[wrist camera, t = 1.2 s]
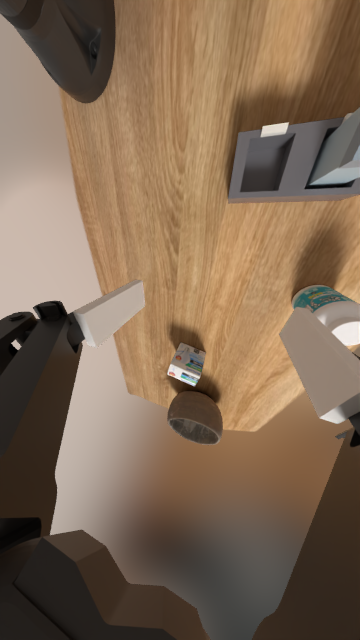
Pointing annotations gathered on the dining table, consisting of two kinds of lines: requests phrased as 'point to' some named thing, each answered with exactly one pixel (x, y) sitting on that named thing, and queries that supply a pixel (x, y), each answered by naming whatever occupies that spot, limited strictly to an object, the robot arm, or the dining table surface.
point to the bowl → (196, 418)
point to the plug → (338, 156)
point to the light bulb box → (187, 364)
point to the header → (283, 164)
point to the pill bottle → (332, 311)
